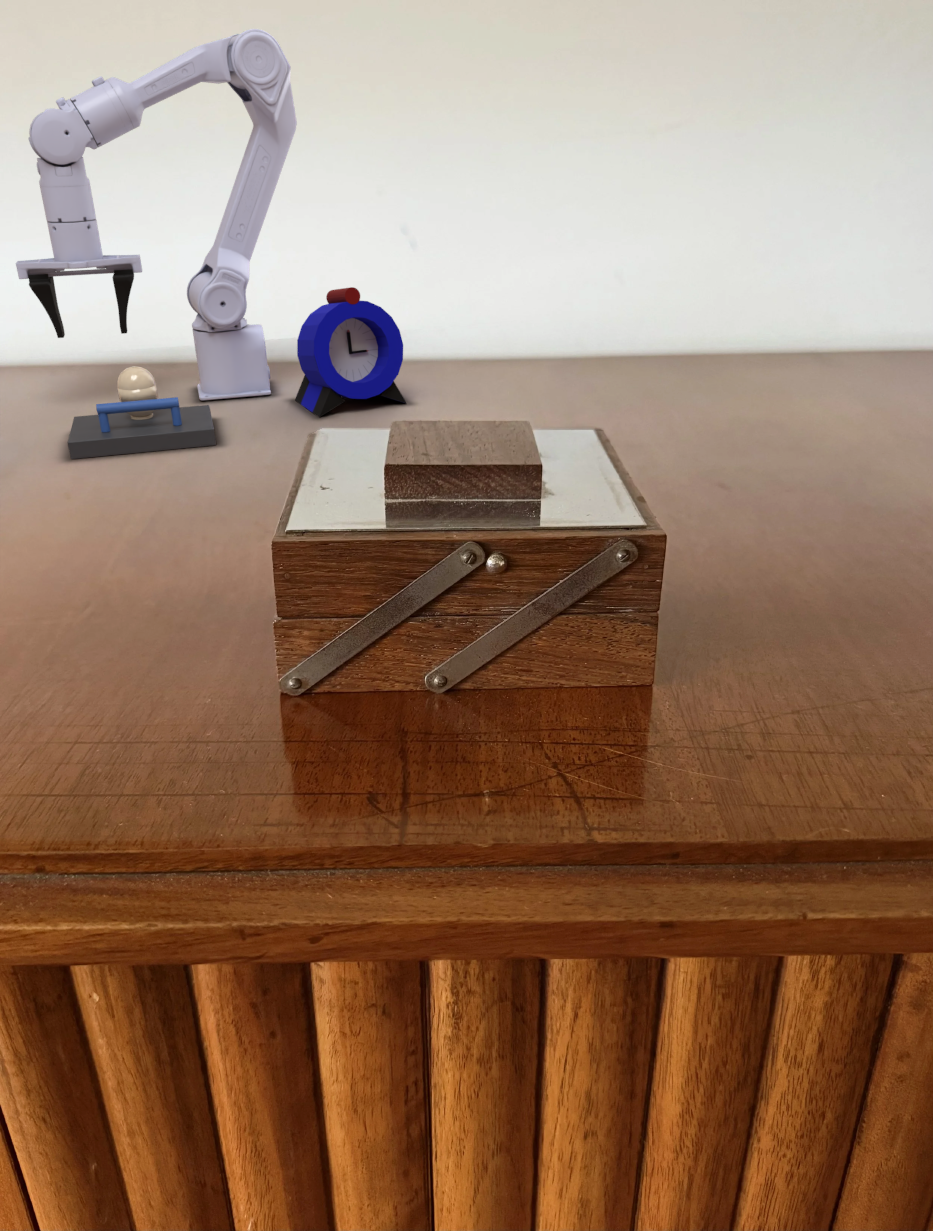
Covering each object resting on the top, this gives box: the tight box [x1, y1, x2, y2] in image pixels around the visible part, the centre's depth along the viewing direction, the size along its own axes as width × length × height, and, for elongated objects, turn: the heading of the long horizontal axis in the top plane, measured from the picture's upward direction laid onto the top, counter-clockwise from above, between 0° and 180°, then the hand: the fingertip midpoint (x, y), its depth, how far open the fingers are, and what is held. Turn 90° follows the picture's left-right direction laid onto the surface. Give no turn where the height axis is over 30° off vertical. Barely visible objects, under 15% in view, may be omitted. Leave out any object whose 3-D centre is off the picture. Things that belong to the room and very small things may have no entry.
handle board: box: [67, 396, 217, 460], centre depth 116 cm, size 16×11×5 cm
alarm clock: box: [294, 286, 408, 418], centre depth 128 cm, size 12×12×15 cm
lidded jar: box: [116, 365, 159, 420], centre depth 117 cm, size 4×4×6 cm
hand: (93, 334), depth 126 cm, fingers open, 7 cm apart
